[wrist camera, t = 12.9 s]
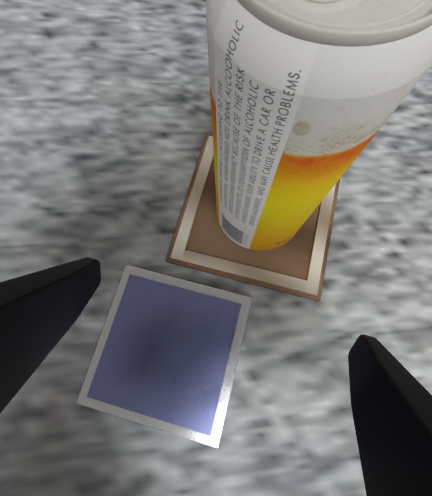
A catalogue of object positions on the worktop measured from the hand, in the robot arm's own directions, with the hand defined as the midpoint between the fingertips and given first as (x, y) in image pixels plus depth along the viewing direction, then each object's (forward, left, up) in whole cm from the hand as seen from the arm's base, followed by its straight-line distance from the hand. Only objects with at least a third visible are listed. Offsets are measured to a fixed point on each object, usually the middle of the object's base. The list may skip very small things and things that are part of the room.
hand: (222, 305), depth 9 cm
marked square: (+8, -1, -10) cm, 13 cm away
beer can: (+8, -1, -10) cm, 12 cm away
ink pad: (-3, +3, -10) cm, 11 cm away
